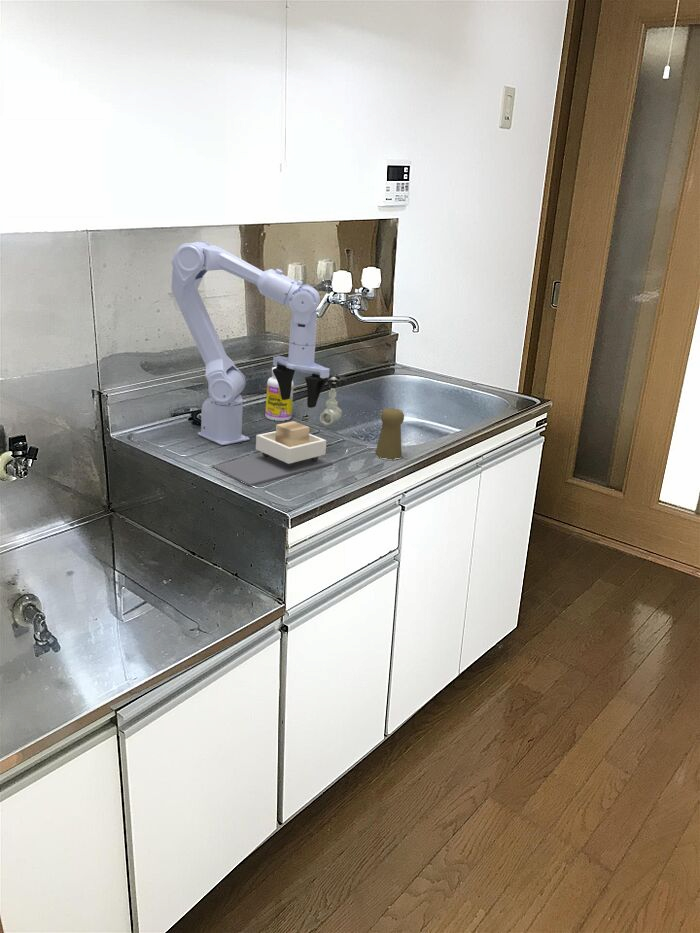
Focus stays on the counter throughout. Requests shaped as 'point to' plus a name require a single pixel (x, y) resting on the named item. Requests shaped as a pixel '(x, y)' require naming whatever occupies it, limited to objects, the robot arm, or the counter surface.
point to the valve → (332, 401)
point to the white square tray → (290, 448)
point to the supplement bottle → (277, 401)
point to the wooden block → (292, 434)
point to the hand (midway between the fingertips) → (298, 403)
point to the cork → (390, 434)
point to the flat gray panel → (267, 468)
